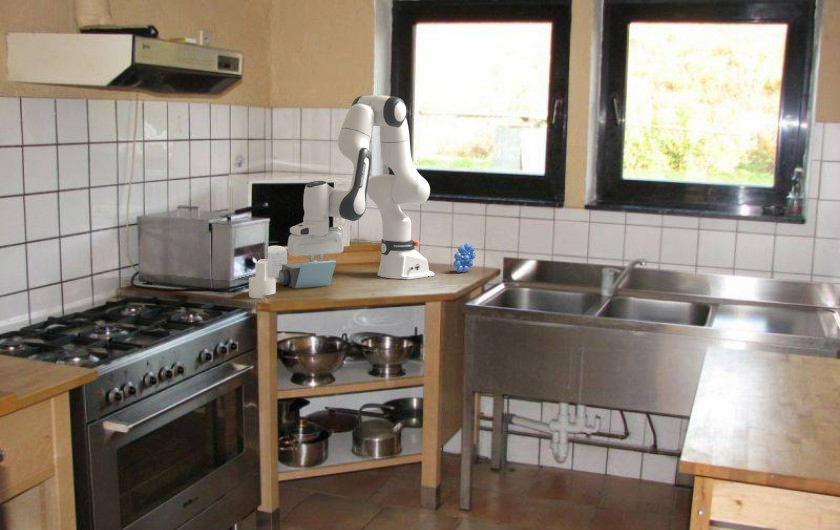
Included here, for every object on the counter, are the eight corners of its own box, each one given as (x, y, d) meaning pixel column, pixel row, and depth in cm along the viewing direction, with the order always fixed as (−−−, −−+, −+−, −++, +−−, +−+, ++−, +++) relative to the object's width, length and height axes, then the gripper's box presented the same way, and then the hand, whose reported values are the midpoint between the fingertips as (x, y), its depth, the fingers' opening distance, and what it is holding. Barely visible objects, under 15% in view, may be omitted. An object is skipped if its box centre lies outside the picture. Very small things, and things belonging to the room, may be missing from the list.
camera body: (316, 283, 339) (317, 259, 338) (328, 287, 332) (328, 263, 331) (276, 286, 331) (276, 262, 329) (286, 291, 323) (287, 266, 322)
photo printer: (281, 276, 352) (282, 244, 350) (288, 277, 349) (288, 245, 347) (259, 279, 345) (259, 246, 343) (265, 280, 342) (265, 247, 340)
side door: (327, 285, 331) (335, 260, 325) (328, 287, 331) (336, 261, 324) (294, 288, 324) (301, 262, 318) (295, 290, 323) (302, 264, 317)
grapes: (466, 269, 379) (467, 240, 377) (478, 272, 374) (479, 242, 372) (446, 272, 371) (447, 242, 369) (458, 274, 366) (459, 244, 364)
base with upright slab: (273, 299, 310) (273, 263, 308) (246, 298, 310) (246, 262, 308) (277, 293, 319) (277, 259, 317) (251, 292, 319) (251, 258, 317)
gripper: (338, 225, 329) (338, 263, 332) (285, 228, 319) (285, 267, 321) (346, 227, 324) (346, 266, 327) (293, 230, 313) (293, 270, 316)
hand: (315, 267), depth 324 cm, fingers closed, pressing on side door
